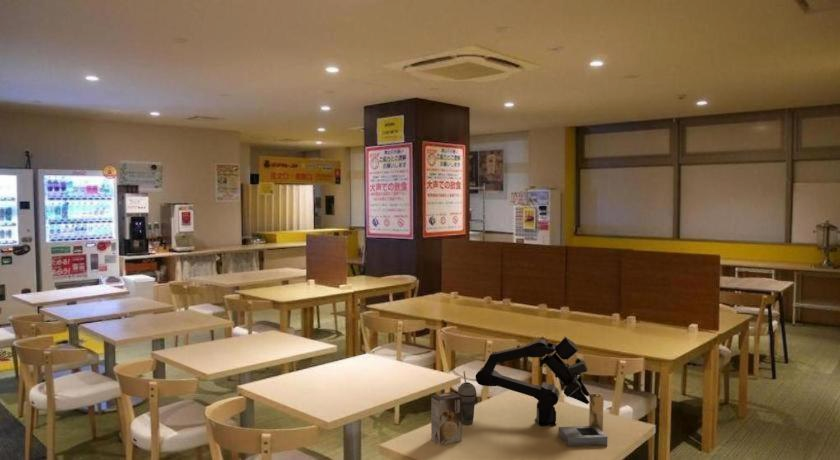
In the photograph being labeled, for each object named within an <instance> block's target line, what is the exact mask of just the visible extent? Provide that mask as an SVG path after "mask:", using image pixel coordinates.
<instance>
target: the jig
mask: <svg viewBox="0 0 840 460" xmlns="http://www.w3.org/2000/svg"><path fill="white" fill-rule="evenodd" d="M557 434H558V435H557V436H559V438H561V440H562V441H563V442H564V444H565V445H566V447H569V448H570V447H571V448H572V447H593V446H594V447H595V446H608V435H607V434H605V433H604V432H603V430H600V429H599V428H598V427H597V426H589V425H581V426H578V425H577V426H575V425H574V426H558V433H557Z"/></svg>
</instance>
